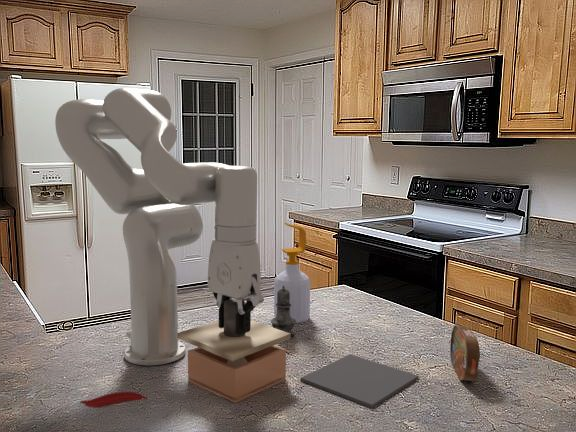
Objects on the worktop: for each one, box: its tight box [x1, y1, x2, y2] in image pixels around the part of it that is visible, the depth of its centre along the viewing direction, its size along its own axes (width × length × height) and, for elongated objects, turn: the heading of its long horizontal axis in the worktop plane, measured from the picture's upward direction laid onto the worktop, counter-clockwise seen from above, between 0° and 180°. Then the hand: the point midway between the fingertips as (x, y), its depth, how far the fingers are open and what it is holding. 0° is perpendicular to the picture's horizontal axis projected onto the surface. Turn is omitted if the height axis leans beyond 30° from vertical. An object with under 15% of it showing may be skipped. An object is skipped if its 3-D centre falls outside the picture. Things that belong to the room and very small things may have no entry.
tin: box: [449, 324, 481, 382], centre depth 110 cm, size 15×3×8 cm, turn 174°
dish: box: [187, 344, 287, 403], centre depth 105 cm, size 13×13×6 cm
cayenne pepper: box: [80, 391, 148, 408], centre depth 97 cm, size 12×5×2 cm, turn 89°
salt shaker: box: [270, 286, 297, 339], centre depth 129 cm, size 6×6×12 cm
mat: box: [300, 353, 419, 409], centre depth 106 cm, size 16×16×1 cm
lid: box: [177, 298, 292, 361], centre depth 105 cm, size 15×15×7 cm
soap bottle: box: [273, 222, 311, 324], centre depth 141 cm, size 9×9×25 cm
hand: (234, 328), depth 105 cm, fingers closed on lid, 4 cm apart
